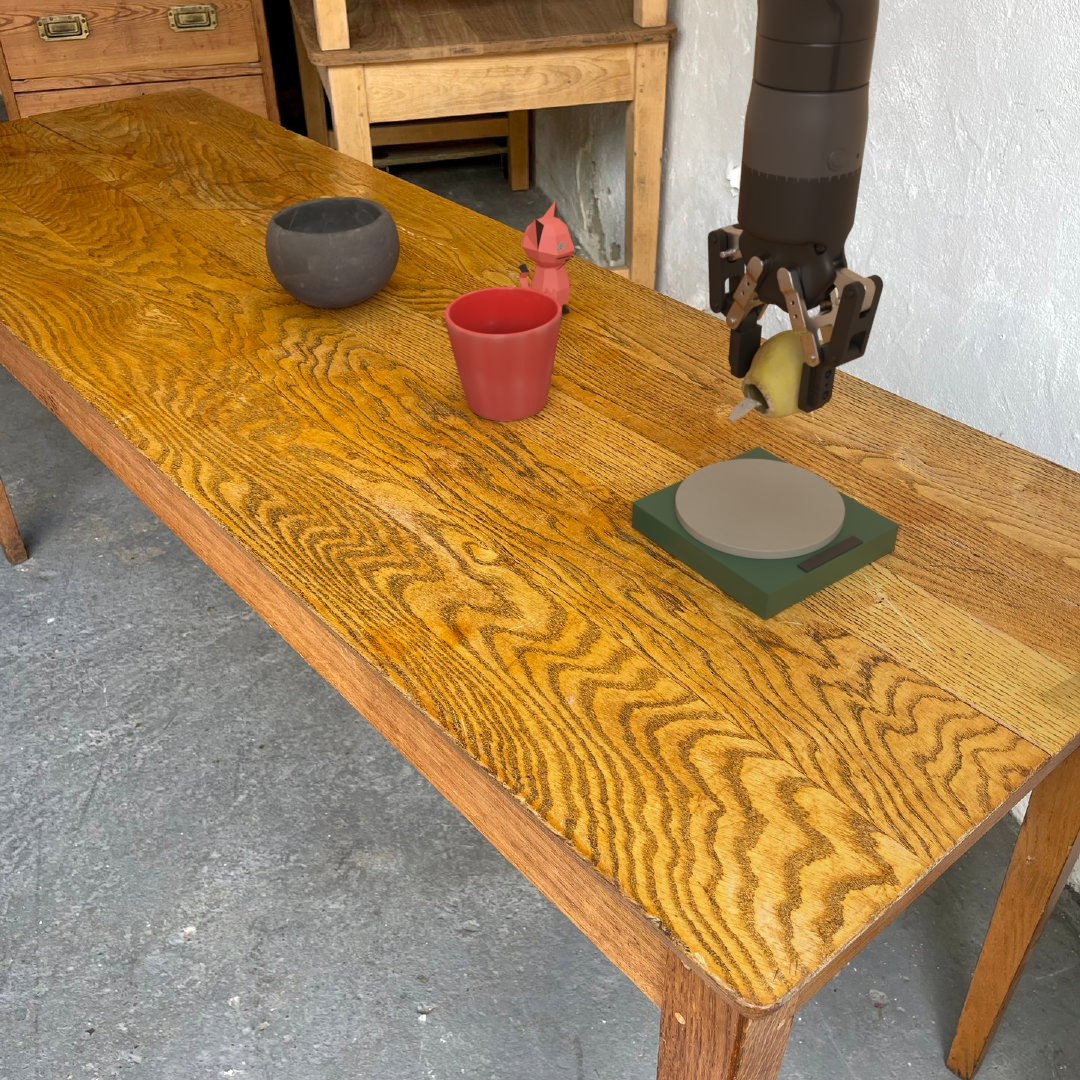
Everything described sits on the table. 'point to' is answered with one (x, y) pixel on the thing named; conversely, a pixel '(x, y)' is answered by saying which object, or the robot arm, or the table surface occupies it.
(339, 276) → the bowl
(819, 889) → the table surface
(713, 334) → the table surface
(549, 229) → the cat figurine
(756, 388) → the fruit
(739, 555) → the scale
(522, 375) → the flower pot
